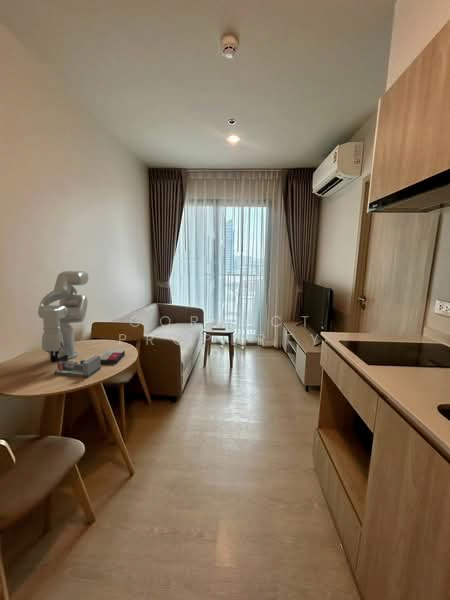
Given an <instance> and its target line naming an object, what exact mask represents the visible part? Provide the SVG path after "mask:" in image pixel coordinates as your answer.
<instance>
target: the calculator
mask: <svg viewBox="0 0 450 600" xmlns="http://www.w3.org/2000/svg"><path fill="white" fill-rule="evenodd" d="M125 353H126V352H125V350H121V349H120V350H119V349H115V350H114V349H108V350H106V351H105V352H104V353H103V354H102V355H100V362H101V365H109V366H110V365H113V364H116V365H117V364H118V363H119V362H120V361H121V360H122V359H123V358H124V357H125V356H126V354H125Z"/></svg>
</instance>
